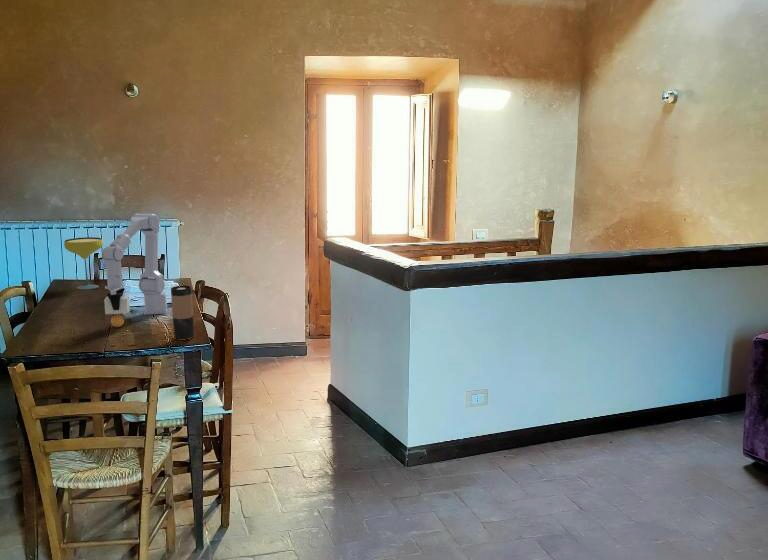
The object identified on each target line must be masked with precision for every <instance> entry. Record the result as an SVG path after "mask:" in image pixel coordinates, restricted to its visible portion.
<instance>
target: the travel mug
mask: <svg viewBox="0 0 768 560" xmlns="http://www.w3.org/2000/svg"><path fill="white" fill-rule="evenodd" d="M192 293H193V292H192V286H190V285H177V286H176V285H175V286H172V287H171V288H170V297H171V299H170V300H171V311H172V312H171V313H172V314H171V315H172V325H173V334H174V339H175V338H176V339H187V338H191V337H193V336H194V337H195V333H194V332H195V330H194V329H195V328H194V325H195V324H194V309H193V296H192V295H193V294H192ZM176 339H175V340H176Z"/></svg>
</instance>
